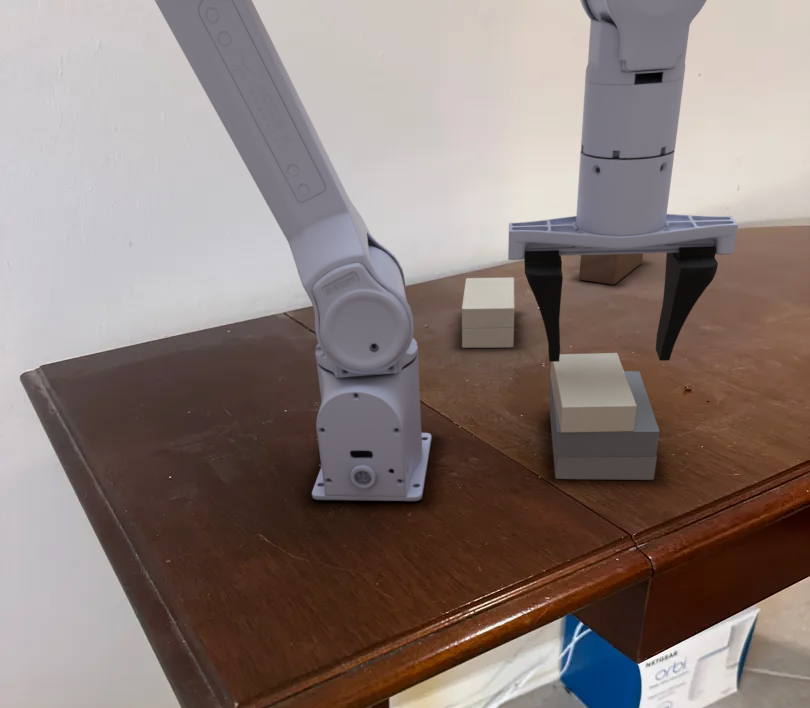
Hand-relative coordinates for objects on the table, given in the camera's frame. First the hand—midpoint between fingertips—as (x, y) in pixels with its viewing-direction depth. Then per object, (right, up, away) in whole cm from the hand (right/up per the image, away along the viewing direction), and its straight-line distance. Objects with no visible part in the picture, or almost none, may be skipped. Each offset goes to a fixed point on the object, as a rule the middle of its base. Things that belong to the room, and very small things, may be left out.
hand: (607, 355), depth 59 cm
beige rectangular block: (-1, -3, +2) cm, 4 cm away
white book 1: (-6, +10, +24) cm, 26 cm away
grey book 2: (0, -6, +4) cm, 7 cm away
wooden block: (+10, +18, +38) cm, 43 cm away
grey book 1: (0, -4, +3) cm, 5 cm away
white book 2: (-6, +8, +25) cm, 27 cm away
